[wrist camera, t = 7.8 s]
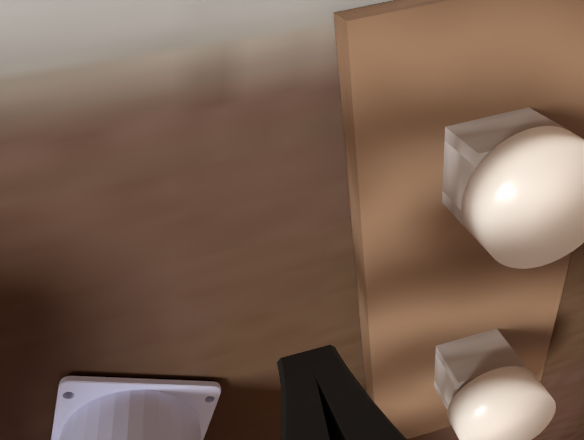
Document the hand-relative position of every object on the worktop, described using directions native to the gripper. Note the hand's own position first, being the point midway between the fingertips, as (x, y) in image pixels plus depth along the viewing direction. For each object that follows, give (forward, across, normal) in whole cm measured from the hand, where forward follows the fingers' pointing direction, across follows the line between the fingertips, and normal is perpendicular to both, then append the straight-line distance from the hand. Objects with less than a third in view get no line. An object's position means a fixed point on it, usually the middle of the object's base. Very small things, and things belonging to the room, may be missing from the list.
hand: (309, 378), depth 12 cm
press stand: (+10, -10, +7) cm, 16 cm away
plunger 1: (+8, -10, 0) cm, 13 cm away
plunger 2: (+9, -10, +13) cm, 19 cm away
